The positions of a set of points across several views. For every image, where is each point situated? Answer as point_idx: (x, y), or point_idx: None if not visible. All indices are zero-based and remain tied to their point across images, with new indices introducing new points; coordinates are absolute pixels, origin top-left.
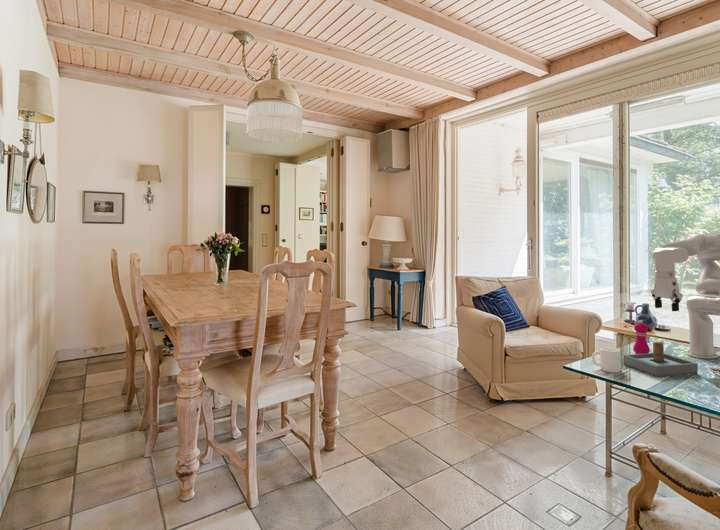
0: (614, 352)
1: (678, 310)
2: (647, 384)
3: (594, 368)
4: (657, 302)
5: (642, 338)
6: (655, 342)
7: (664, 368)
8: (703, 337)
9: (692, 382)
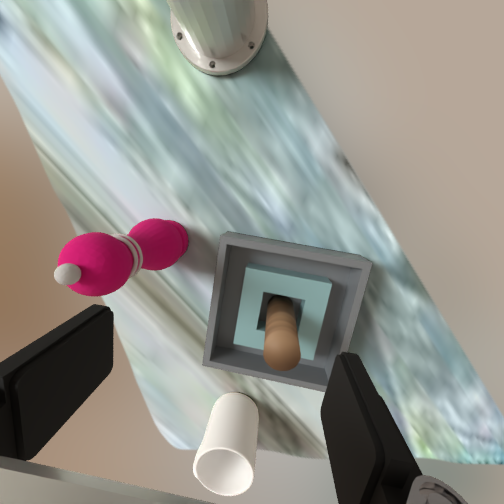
0: (252, 481)
1: (353, 359)
2: None
3: None
4: (55, 414)
5: (143, 262)
6: (276, 361)
7: None
8: None
9: (397, 332)
